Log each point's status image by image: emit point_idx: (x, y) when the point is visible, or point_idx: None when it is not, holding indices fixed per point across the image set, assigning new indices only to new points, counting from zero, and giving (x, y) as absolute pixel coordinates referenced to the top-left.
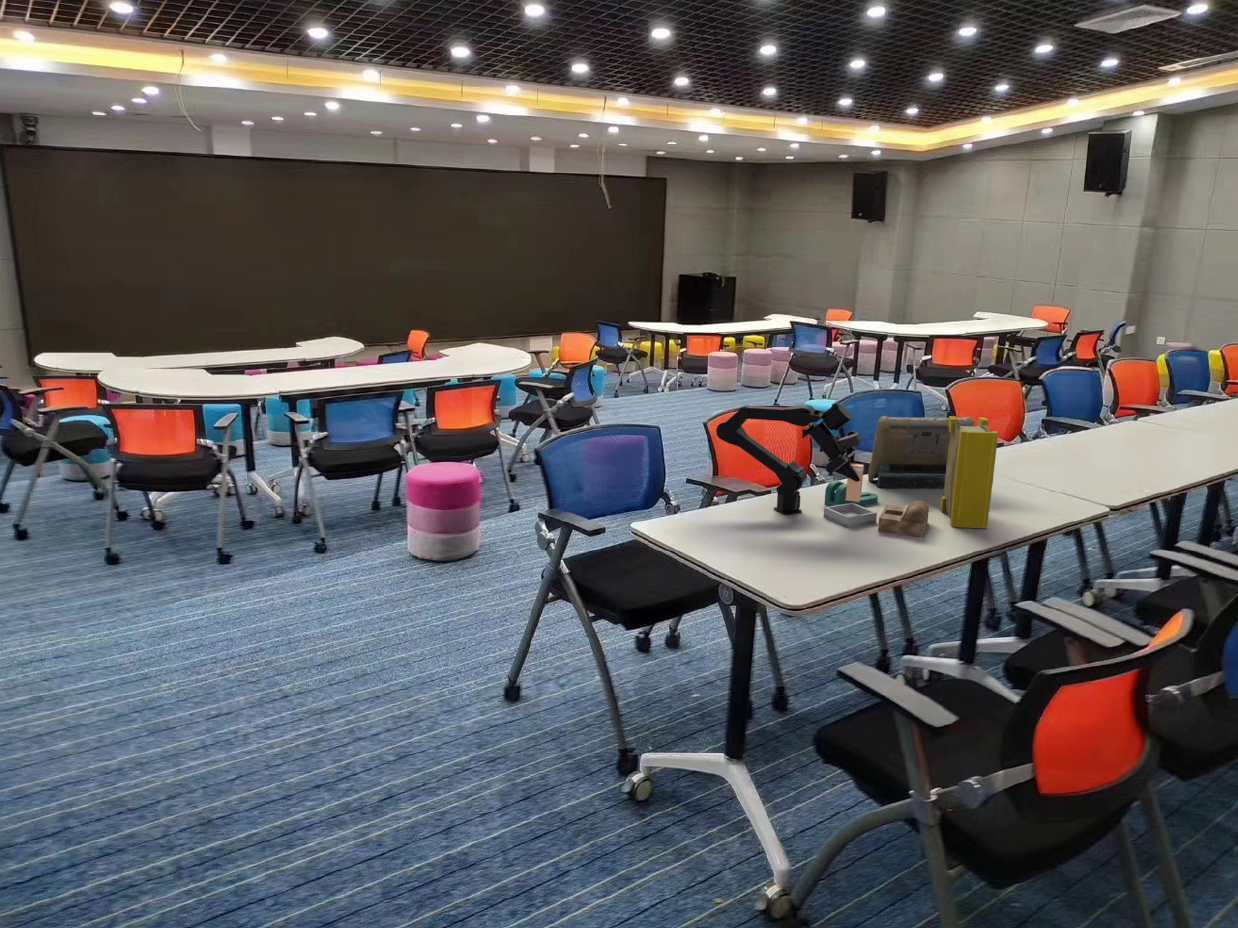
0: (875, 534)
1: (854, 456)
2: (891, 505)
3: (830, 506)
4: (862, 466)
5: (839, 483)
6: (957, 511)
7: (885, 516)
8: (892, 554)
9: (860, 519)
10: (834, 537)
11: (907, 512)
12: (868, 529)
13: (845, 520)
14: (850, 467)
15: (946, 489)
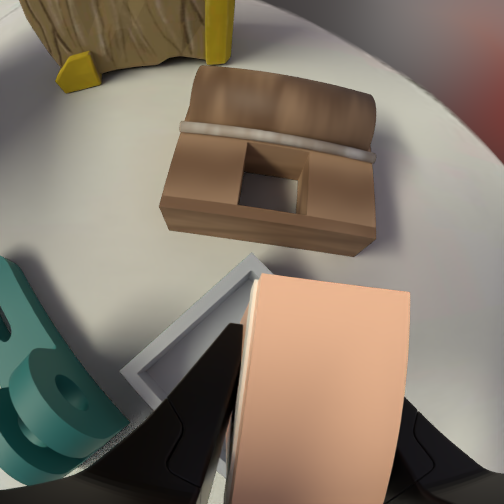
0: (391, 265)
1: (21, 497)
2: (166, 185)
3: (220, 472)
4: (387, 292)
5: (6, 433)
6: (232, 23)
7: (346, 212)
8: (495, 221)
9: None
10: (456, 390)
11: (341, 124)
12: None
13: None
14: (465, 460)
15: (82, 29)
